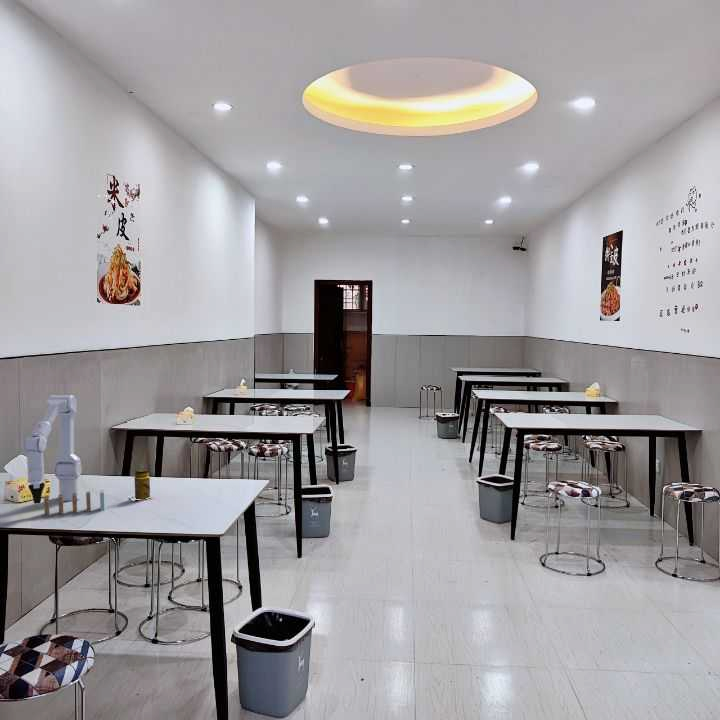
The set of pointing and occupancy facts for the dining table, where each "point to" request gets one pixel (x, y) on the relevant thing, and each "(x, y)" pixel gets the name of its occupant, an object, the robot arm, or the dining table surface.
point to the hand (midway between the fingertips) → (37, 502)
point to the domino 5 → (102, 499)
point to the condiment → (142, 484)
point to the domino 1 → (46, 505)
